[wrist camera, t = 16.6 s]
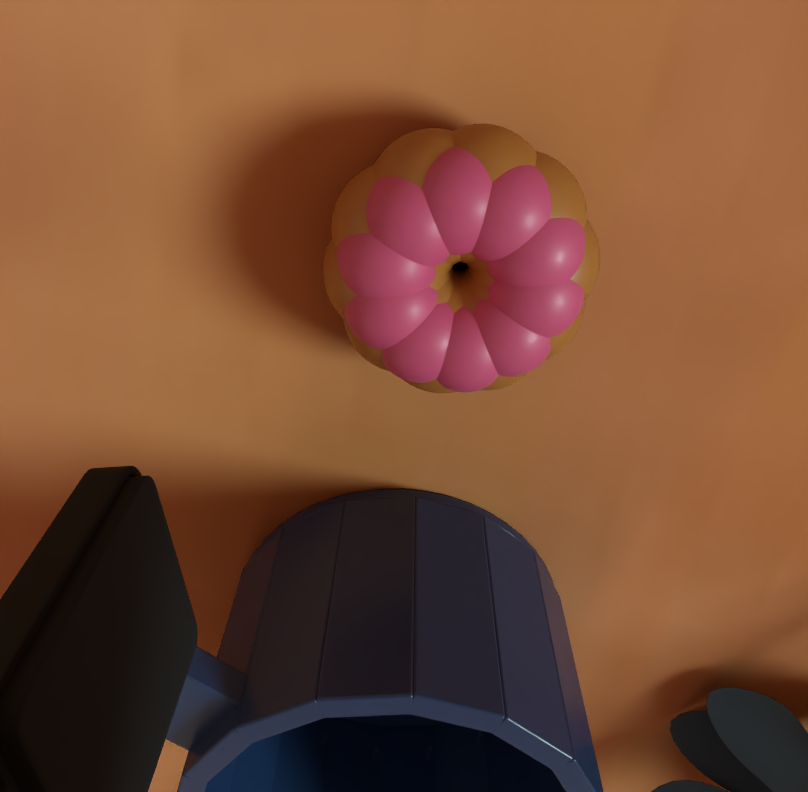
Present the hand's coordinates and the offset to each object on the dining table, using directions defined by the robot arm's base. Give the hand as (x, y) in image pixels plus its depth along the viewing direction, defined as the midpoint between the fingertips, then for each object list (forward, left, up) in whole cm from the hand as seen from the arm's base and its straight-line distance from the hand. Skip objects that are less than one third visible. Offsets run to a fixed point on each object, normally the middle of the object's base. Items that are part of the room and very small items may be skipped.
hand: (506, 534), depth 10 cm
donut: (0, 0, -13) cm, 13 cm away
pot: (-3, -14, -13) cm, 20 cm away
